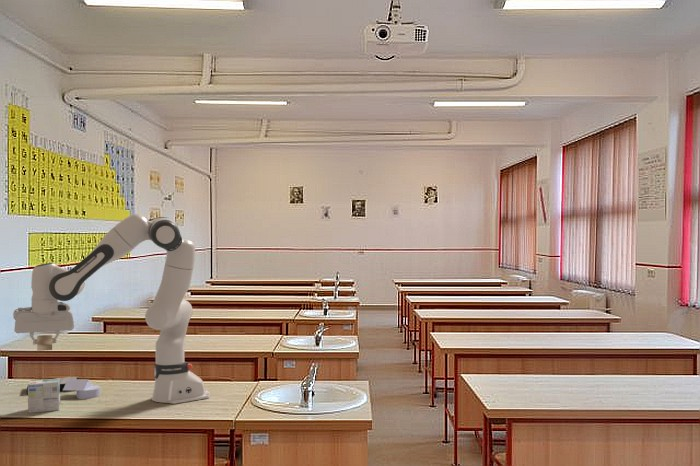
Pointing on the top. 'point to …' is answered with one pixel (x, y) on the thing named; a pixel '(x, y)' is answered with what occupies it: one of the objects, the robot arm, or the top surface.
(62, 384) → the multimeter
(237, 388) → the top surface
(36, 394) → the light bulb box
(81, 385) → the wedge on round base
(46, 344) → the ash cube
